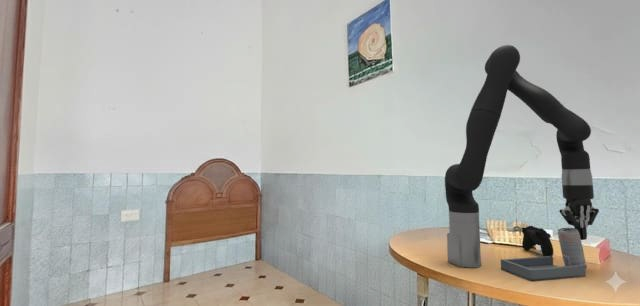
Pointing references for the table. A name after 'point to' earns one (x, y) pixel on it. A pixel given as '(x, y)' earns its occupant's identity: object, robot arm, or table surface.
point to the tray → (540, 268)
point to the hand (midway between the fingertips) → (581, 239)
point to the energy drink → (571, 247)
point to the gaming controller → (537, 240)
